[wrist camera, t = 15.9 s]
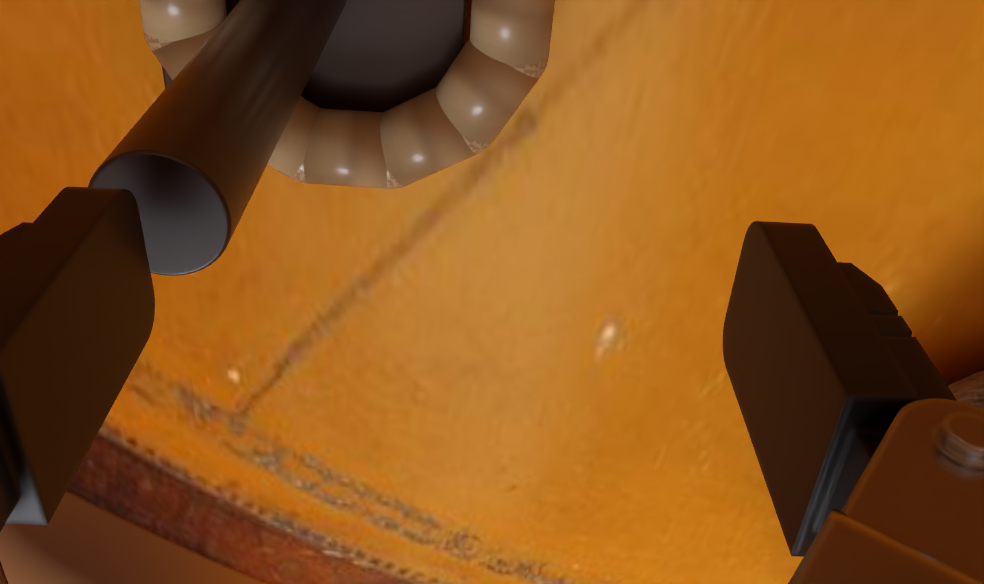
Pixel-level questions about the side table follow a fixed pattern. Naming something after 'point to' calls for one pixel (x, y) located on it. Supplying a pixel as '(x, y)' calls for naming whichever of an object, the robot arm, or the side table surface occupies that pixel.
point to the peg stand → (266, 107)
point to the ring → (406, 127)
